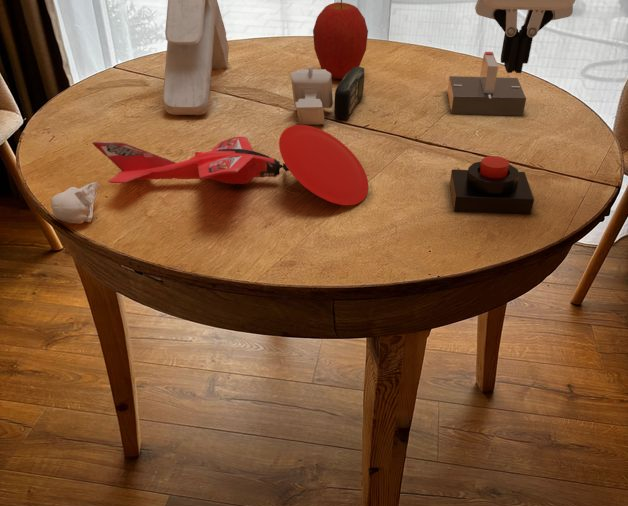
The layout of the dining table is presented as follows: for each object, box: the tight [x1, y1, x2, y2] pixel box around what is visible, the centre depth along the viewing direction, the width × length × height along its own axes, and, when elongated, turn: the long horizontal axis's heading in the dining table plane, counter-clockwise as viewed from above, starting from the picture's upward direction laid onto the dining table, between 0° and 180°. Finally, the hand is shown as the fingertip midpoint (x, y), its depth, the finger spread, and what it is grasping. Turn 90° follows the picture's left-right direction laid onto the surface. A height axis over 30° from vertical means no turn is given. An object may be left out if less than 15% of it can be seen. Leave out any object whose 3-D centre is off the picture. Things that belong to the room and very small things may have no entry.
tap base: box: [447, 75, 527, 117], centre depth 117 cm, size 12×11×3 cm
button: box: [480, 155, 510, 179], centre depth 88 cm, size 4×4×2 cm
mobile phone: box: [333, 66, 365, 119], centre depth 116 cm, size 5×3×15 cm
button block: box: [449, 160, 535, 215], centre depth 90 cm, size 10×8×4 cm
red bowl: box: [278, 124, 369, 206], centre depth 92 cm, size 14×14×6 cm
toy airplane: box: [91, 136, 290, 187], centre depth 92 cm, size 27×27×5 cm
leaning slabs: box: [161, 0, 230, 116], centre depth 120 cm, size 8×25×23 cm
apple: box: [312, 0, 369, 80], centre depth 124 cm, size 10×10×14 cm
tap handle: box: [479, 51, 499, 94], centre depth 114 cm, size 7×2×5 cm, turn 175°
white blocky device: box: [290, 65, 334, 126], centre depth 110 cm, size 9×7×8 cm
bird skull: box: [50, 181, 101, 225], centre depth 87 cm, size 6×8×4 cm
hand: (512, 69), depth 80 cm, fingers closed
